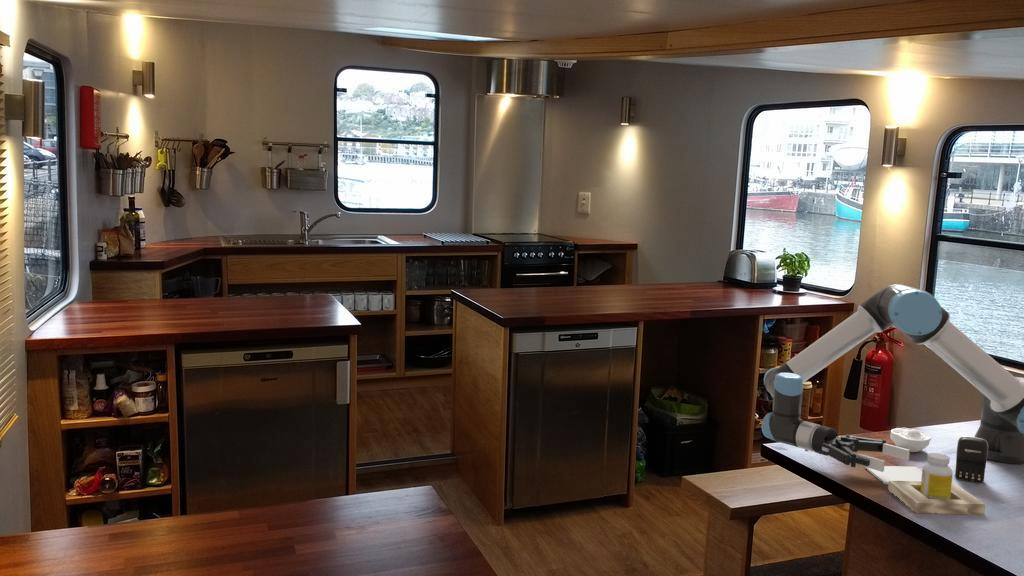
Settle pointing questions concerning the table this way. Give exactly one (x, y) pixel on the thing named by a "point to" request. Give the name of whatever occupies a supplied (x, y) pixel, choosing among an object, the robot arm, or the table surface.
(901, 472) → the pad
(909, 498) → the holder
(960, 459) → the battery charger
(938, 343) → the robot arm
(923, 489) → the pill bottle
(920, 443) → the cell model
